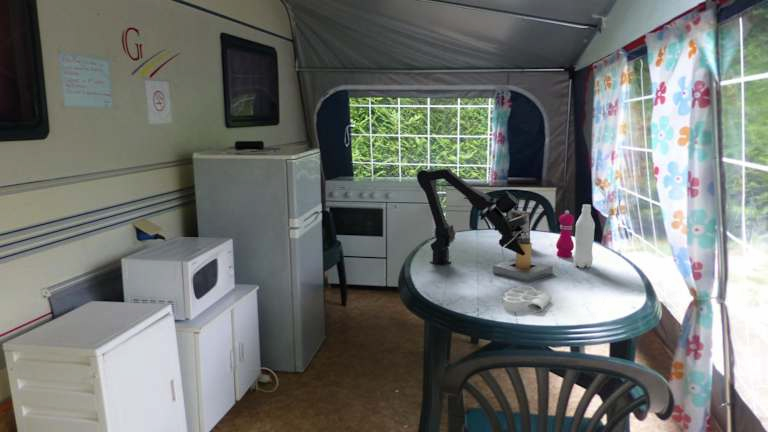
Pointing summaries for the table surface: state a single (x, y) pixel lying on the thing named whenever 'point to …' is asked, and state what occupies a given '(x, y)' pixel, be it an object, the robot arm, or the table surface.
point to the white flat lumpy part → (525, 299)
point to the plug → (526, 245)
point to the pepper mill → (565, 236)
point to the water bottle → (584, 238)
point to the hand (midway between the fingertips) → (526, 252)
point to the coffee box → (513, 214)
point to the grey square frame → (522, 270)
